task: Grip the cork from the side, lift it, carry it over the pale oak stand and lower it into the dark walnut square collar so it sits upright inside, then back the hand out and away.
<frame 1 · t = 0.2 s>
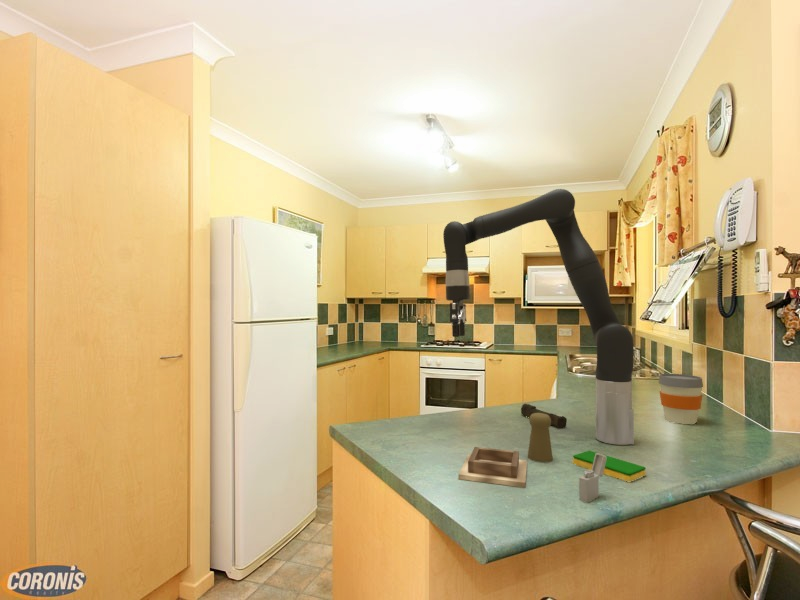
hand: (458, 336, 136), 29 cm above the countertop, tool pointing down, fingers open, 8 cm apart
hand tool: (539, 422, 143), on the countertop
reusable coffee cup: (680, 421, 144), on the countertop
dish sponge: (607, 472, 100), on the countertop
lighter: (593, 497, 85), on the countertop
cork: (540, 458, 107), on the countertop
shaker stand: (494, 471, 98), on the countertop
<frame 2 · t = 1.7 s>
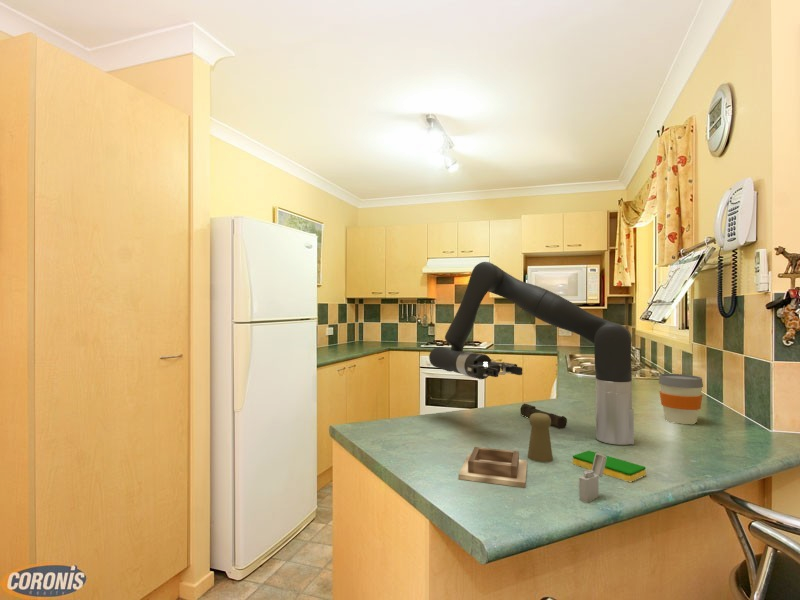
hand: (509, 372, 118), 20 cm above the countertop, tool horizontal, fingers open, 8 cm apart
nothing on the countertop moved.
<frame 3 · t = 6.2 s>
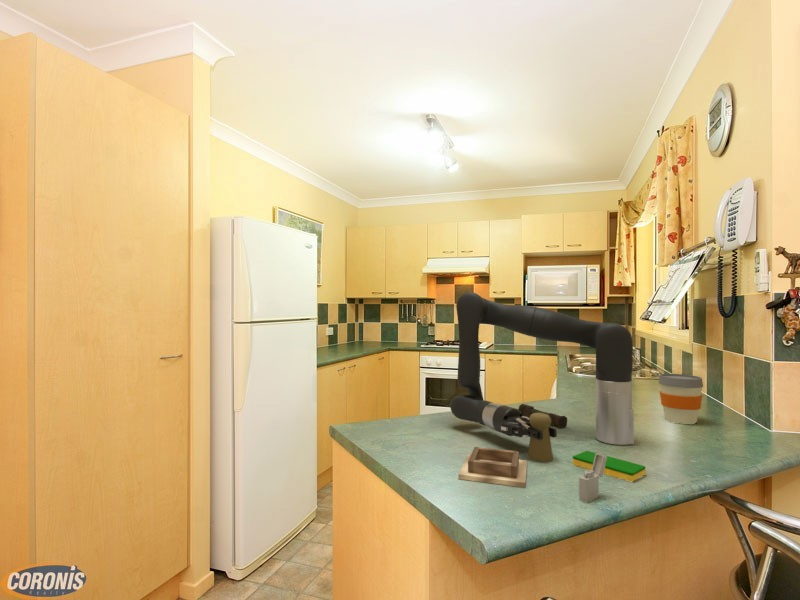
hand: (548, 434, 105), 7 cm above the countertop, tool horizontal, fingers closed on cork, 4 cm apart
cork: (540, 458, 107), on the countertop, touching gripper
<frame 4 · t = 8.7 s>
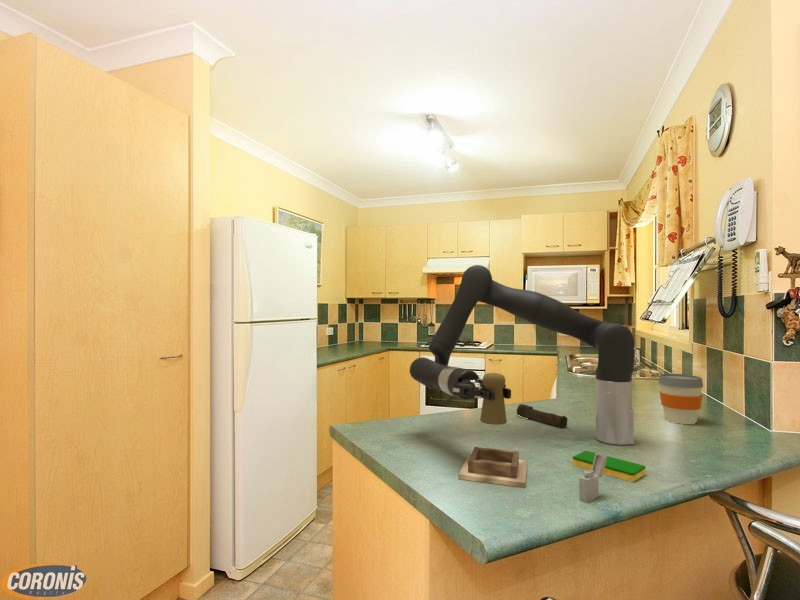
hand: (501, 394, 97), 18 cm above the countertop, tool horizontal, fingers closed on cork, 4 cm apart
cork: (493, 421, 99), point 11 cm above the countertop, touching gripper
everything else where it was.
when the fingers open (9 cm above the countertop, at t = 11.3 s): cork moves 1 cm, resting on shaker stand.
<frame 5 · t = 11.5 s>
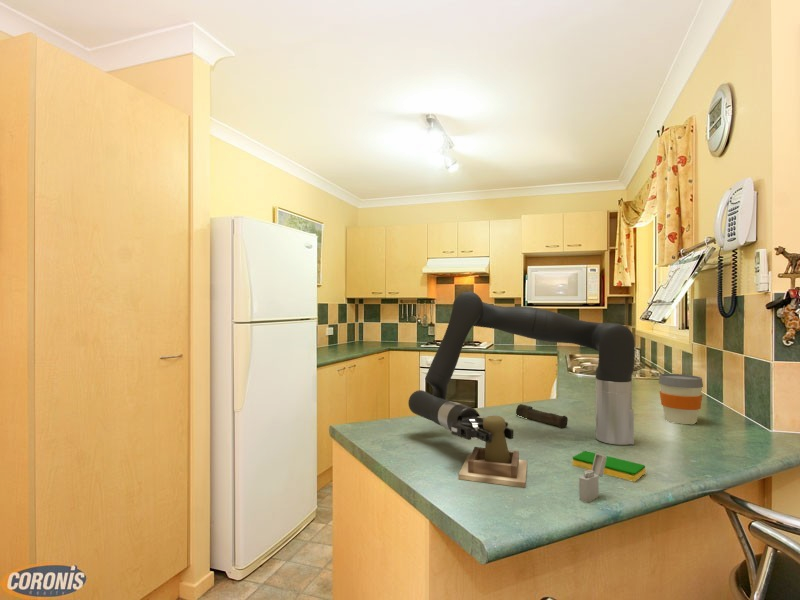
hand: (501, 436, 96), 9 cm above the countertop, tool horizontal, fingers open, 5 cm apart
cork: (497, 465, 99), point 1 cm above the countertop, touching gripper, shaker stand
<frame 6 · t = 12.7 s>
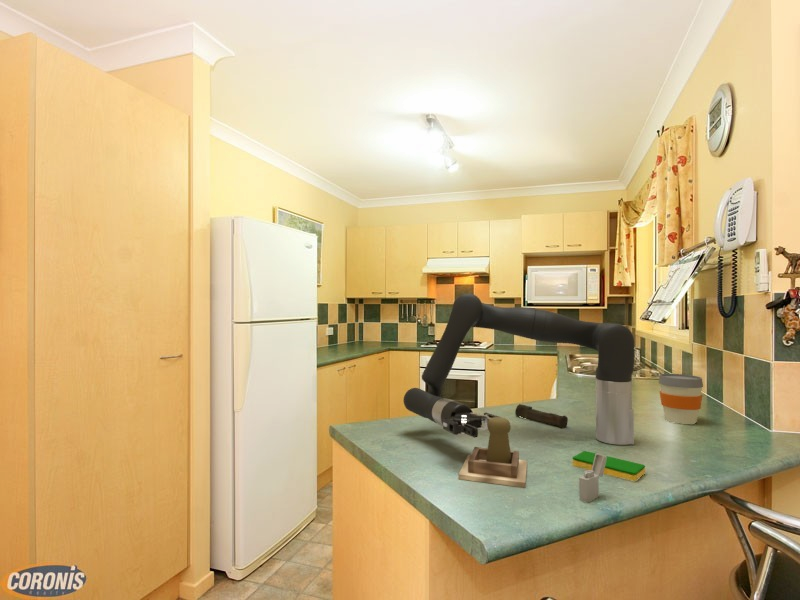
hand: (491, 430, 99), 9 cm above the countertop, tool horizontal, fingers open, 8 cm apart
cork: (498, 467, 99), point 1 cm above the countertop, touching shaker stand
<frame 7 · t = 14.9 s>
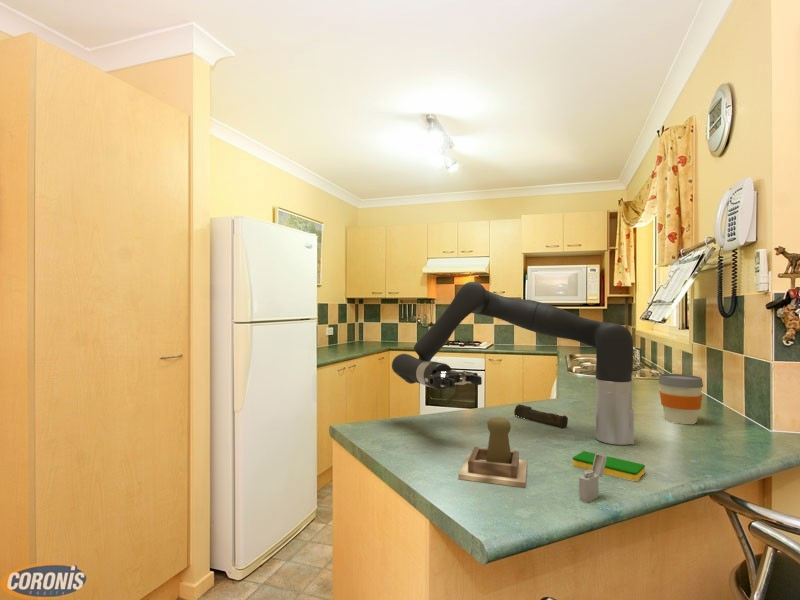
hand: (467, 382, 111), 18 cm above the countertop, tool horizontal, fingers open, 8 cm apart
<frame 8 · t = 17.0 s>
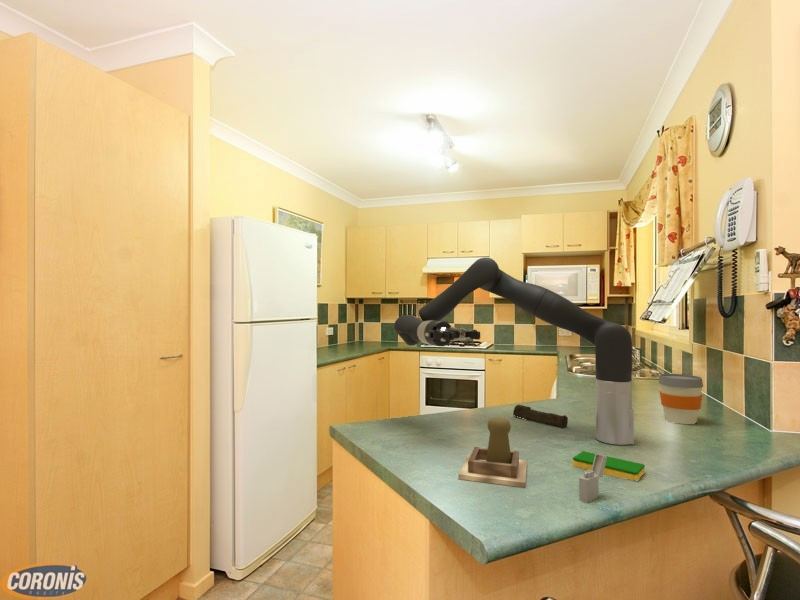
hand: (466, 335, 114), 30 cm above the countertop, tool horizontal, fingers open, 8 cm apart
at the end: cork 1.3 cm off-centre on the shaker stand, point 0.8 cm above the shaker stand's base; cork tilted 0°; the gripper is holding nothing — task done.
